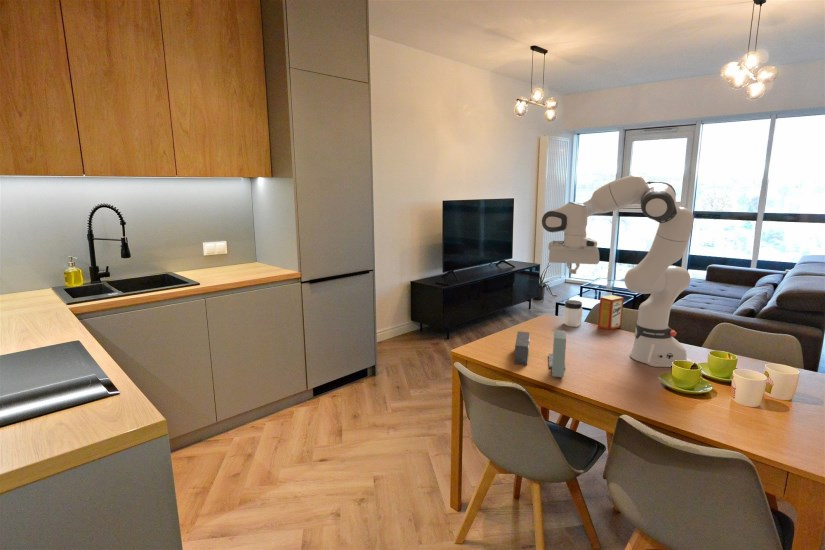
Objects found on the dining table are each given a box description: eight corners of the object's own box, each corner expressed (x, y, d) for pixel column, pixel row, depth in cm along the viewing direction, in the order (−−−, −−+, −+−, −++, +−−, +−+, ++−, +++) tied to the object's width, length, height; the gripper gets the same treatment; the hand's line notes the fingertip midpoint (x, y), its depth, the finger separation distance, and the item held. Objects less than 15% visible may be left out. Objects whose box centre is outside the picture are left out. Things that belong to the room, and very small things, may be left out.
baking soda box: (609, 324, 229) (611, 294, 226) (621, 327, 224) (623, 296, 221) (597, 327, 224) (600, 296, 221) (609, 330, 219) (612, 299, 216)
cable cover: (562, 367, 172) (565, 330, 169) (563, 377, 163) (566, 338, 160) (551, 366, 173) (554, 329, 170) (552, 376, 164) (554, 337, 161)
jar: (575, 328, 223) (577, 305, 221) (560, 324, 229) (561, 302, 226) (583, 324, 229) (585, 301, 227) (568, 320, 235) (570, 299, 233)
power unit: (529, 349, 194) (530, 332, 193) (527, 365, 177) (528, 346, 176) (516, 348, 196) (517, 331, 194) (514, 364, 179) (515, 345, 177)
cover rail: (563, 357, 186) (563, 354, 185) (565, 370, 172) (565, 367, 172) (548, 355, 187) (548, 353, 187) (549, 368, 174) (549, 366, 174)
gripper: (548, 241, 185) (547, 273, 188) (601, 242, 179) (598, 276, 182) (548, 239, 191) (546, 271, 193) (599, 241, 185) (596, 273, 188)
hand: (572, 273), depth 188 cm, fingers closed
